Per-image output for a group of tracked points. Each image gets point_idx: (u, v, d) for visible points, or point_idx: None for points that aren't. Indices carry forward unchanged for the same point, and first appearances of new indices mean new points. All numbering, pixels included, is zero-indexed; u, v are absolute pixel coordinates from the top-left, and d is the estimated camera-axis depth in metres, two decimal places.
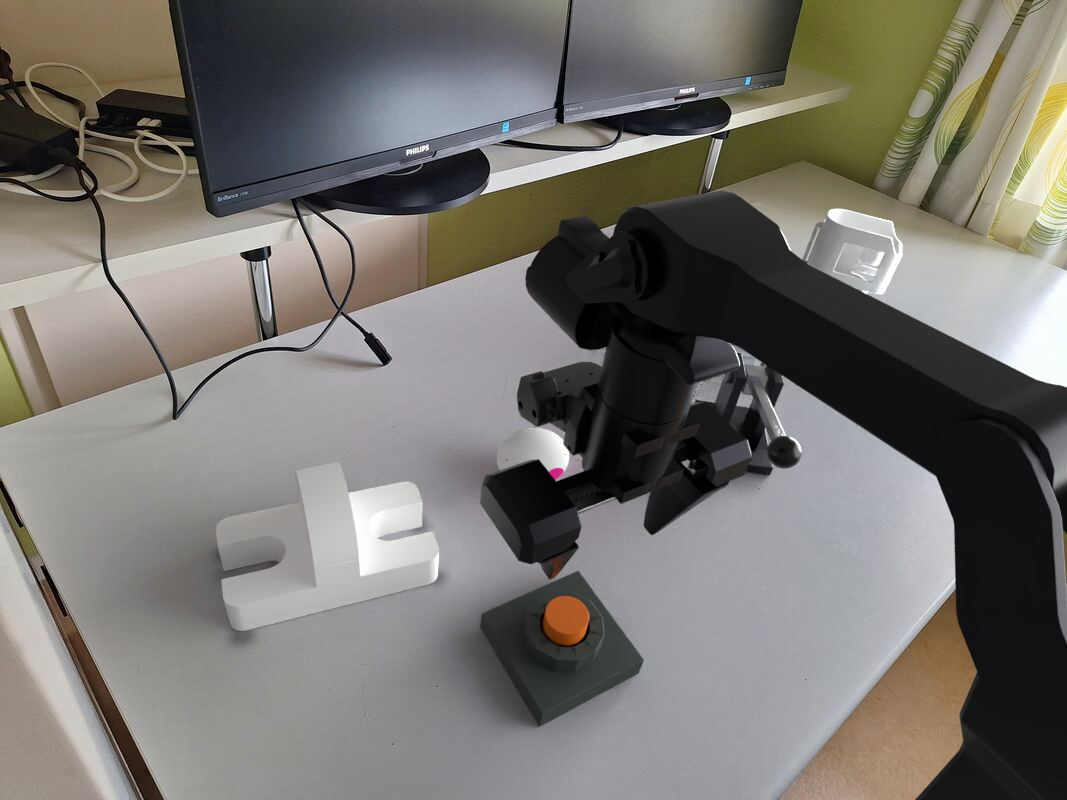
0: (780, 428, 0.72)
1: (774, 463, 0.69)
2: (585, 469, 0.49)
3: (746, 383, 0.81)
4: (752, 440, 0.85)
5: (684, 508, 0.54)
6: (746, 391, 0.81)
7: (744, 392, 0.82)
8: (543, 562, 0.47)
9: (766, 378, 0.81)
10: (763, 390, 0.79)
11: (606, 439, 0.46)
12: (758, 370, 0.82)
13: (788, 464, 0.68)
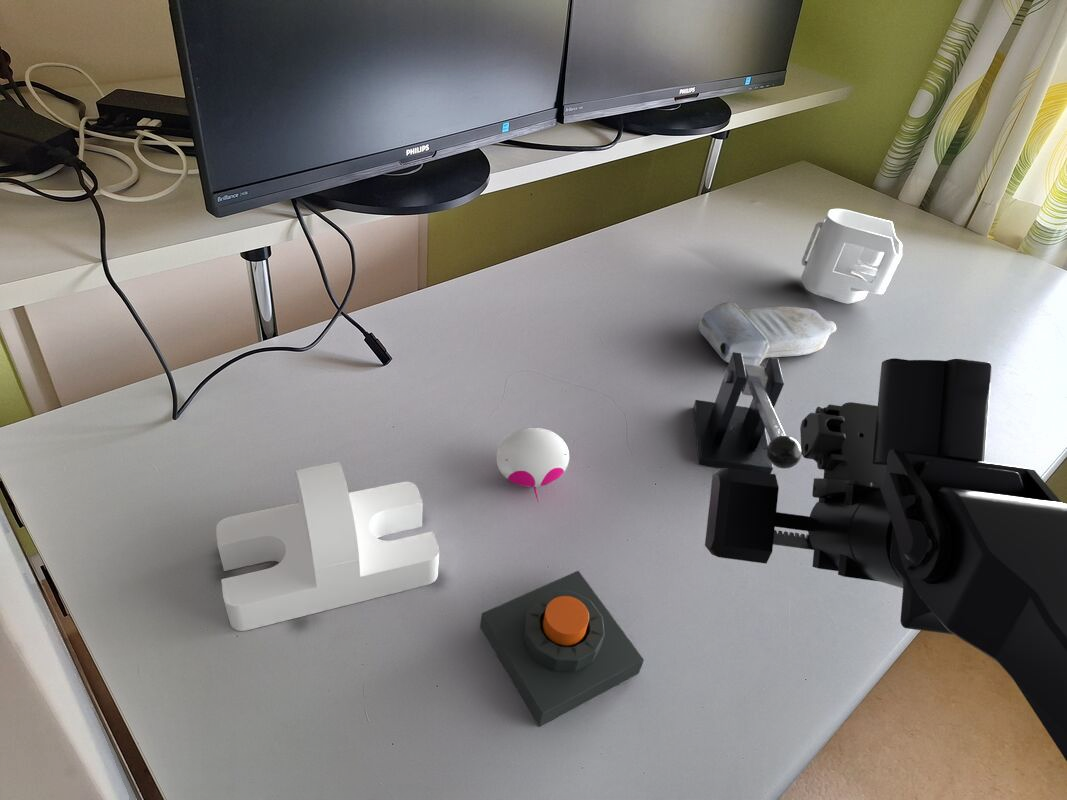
0: (780, 428, 0.72)
1: (774, 463, 0.69)
2: (811, 515, 0.52)
3: (746, 383, 0.81)
4: (752, 440, 0.85)
5: None
6: (746, 391, 0.81)
7: (744, 392, 0.82)
8: None
9: (766, 378, 0.81)
10: (763, 390, 0.79)
11: (833, 537, 0.48)
12: (758, 370, 0.82)
13: (788, 464, 0.68)
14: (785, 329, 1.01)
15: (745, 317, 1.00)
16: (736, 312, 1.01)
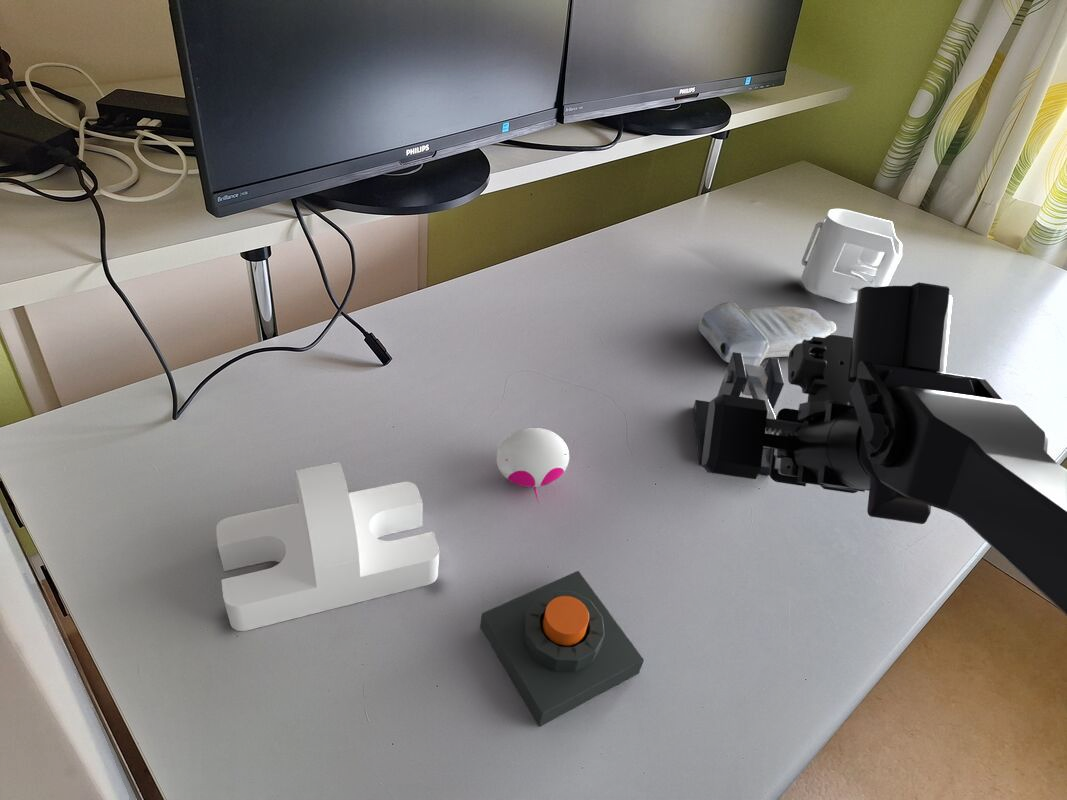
0: None
1: None
2: (796, 437, 0.58)
3: (746, 383, 0.81)
4: None
5: None
6: (746, 391, 0.82)
7: (744, 392, 0.82)
8: None
9: (766, 378, 0.81)
10: (763, 391, 0.79)
11: (814, 451, 0.55)
12: (758, 371, 0.82)
13: None
14: (785, 329, 1.01)
15: (745, 317, 1.00)
16: (736, 312, 1.01)
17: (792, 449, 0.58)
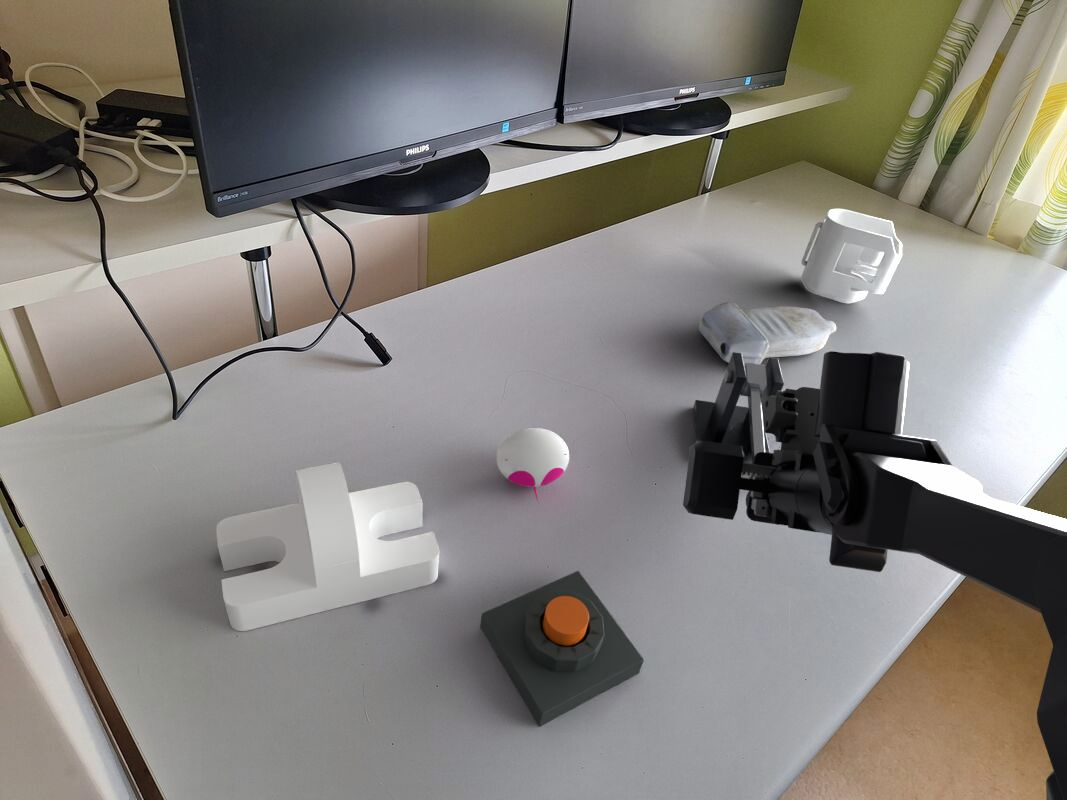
0: None
1: None
2: (771, 480, 0.63)
3: (744, 388, 0.81)
4: None
5: None
6: (744, 393, 0.82)
7: (742, 394, 0.82)
8: (749, 518, 0.66)
9: (765, 385, 0.81)
10: (759, 402, 0.80)
11: (785, 497, 0.59)
12: (758, 374, 0.81)
13: None
14: (785, 329, 1.01)
15: (745, 317, 1.00)
16: (736, 312, 1.01)
17: (766, 492, 0.63)
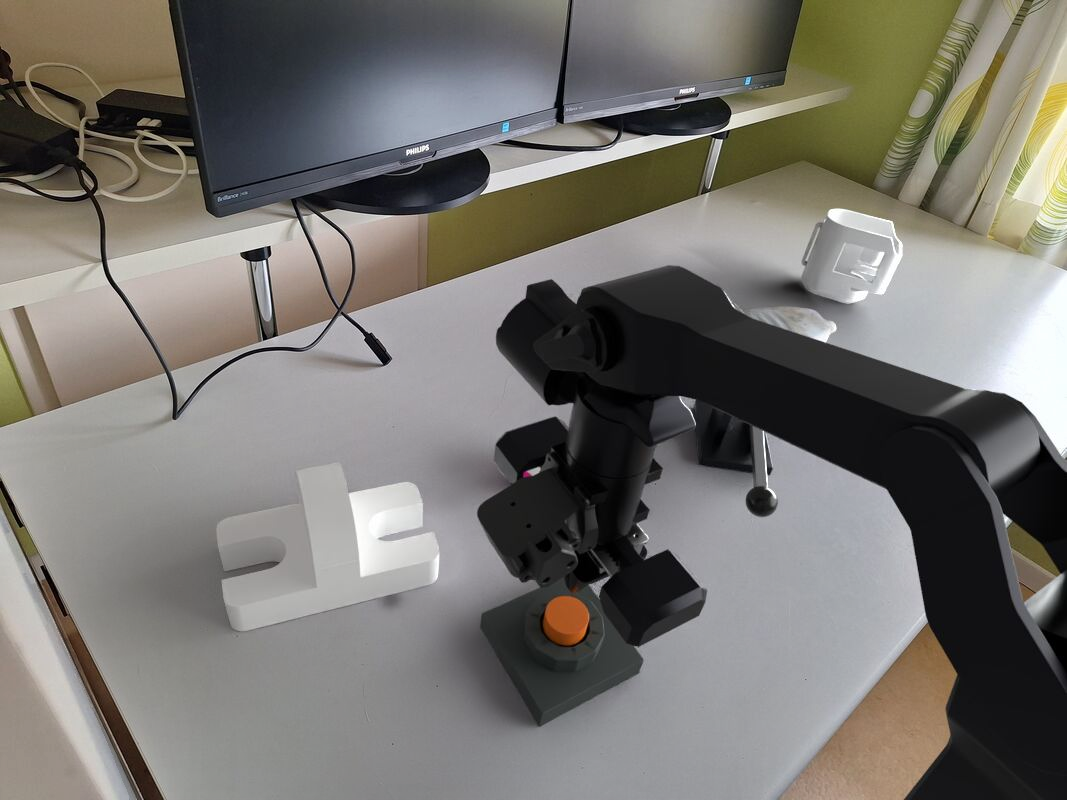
0: (764, 468, 0.75)
1: None
2: (610, 539, 0.51)
3: None
4: None
5: None
6: None
7: None
8: None
9: None
10: None
11: (635, 496, 0.49)
12: None
13: (762, 516, 0.73)
14: None
15: None
16: None
17: (623, 537, 0.52)
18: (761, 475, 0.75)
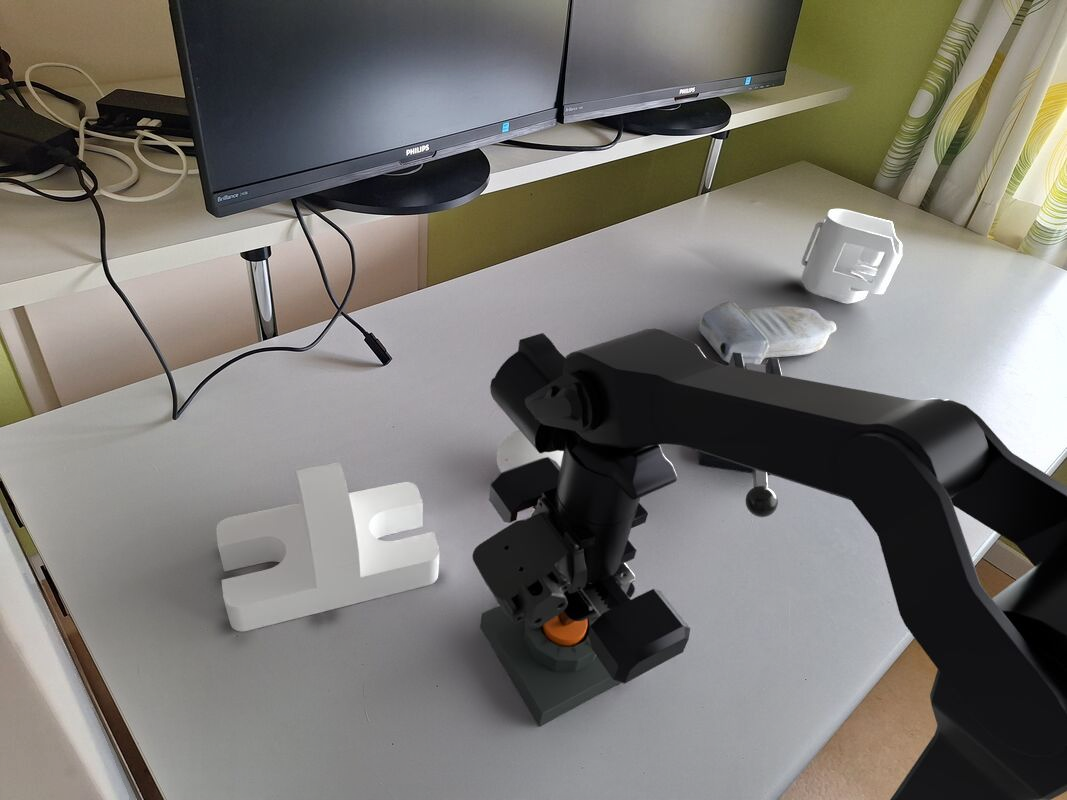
0: None
1: None
2: (599, 579, 0.54)
3: None
4: None
5: None
6: None
7: None
8: None
9: None
10: None
11: (622, 540, 0.52)
12: None
13: (762, 516, 0.73)
14: (785, 329, 1.01)
15: (745, 317, 1.00)
16: (736, 312, 1.01)
17: (611, 577, 0.54)
18: (761, 475, 0.75)
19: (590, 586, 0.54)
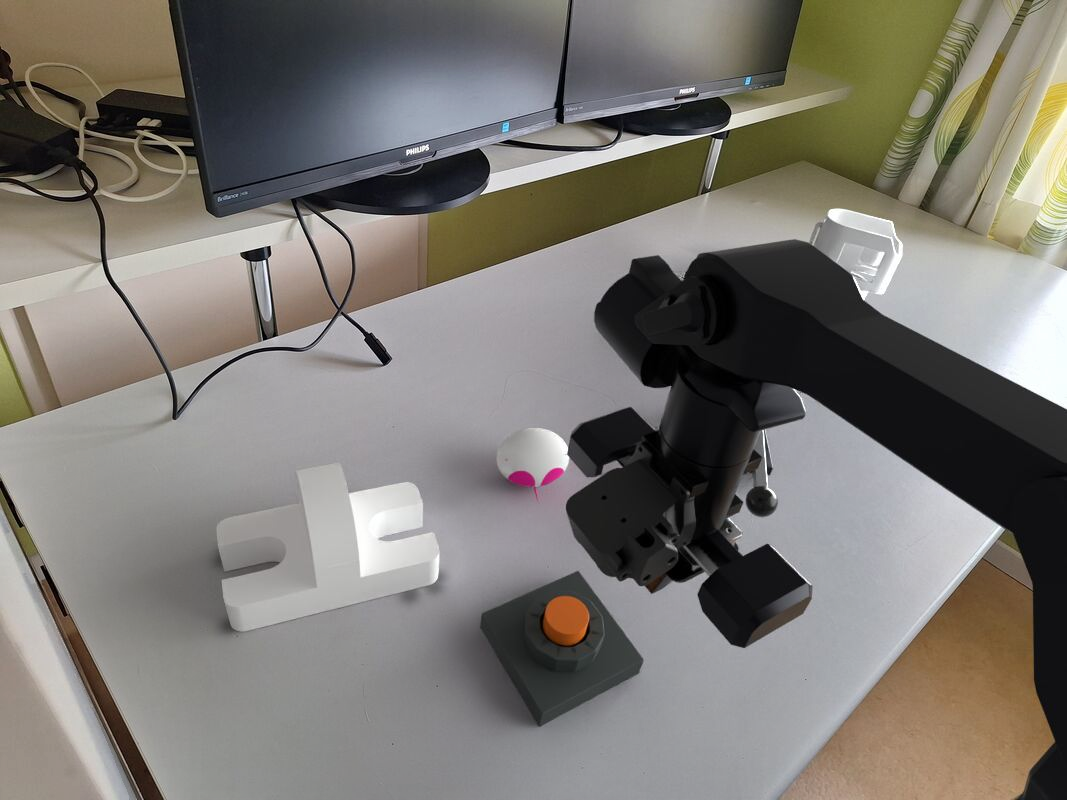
0: (764, 468, 0.75)
1: None
2: (704, 534, 0.48)
3: None
4: None
5: None
6: None
7: None
8: (737, 548, 0.51)
9: None
10: None
11: (734, 487, 0.46)
12: None
13: (762, 516, 0.73)
14: None
15: None
16: None
17: (718, 532, 0.48)
18: (761, 475, 0.75)
19: (694, 542, 0.48)
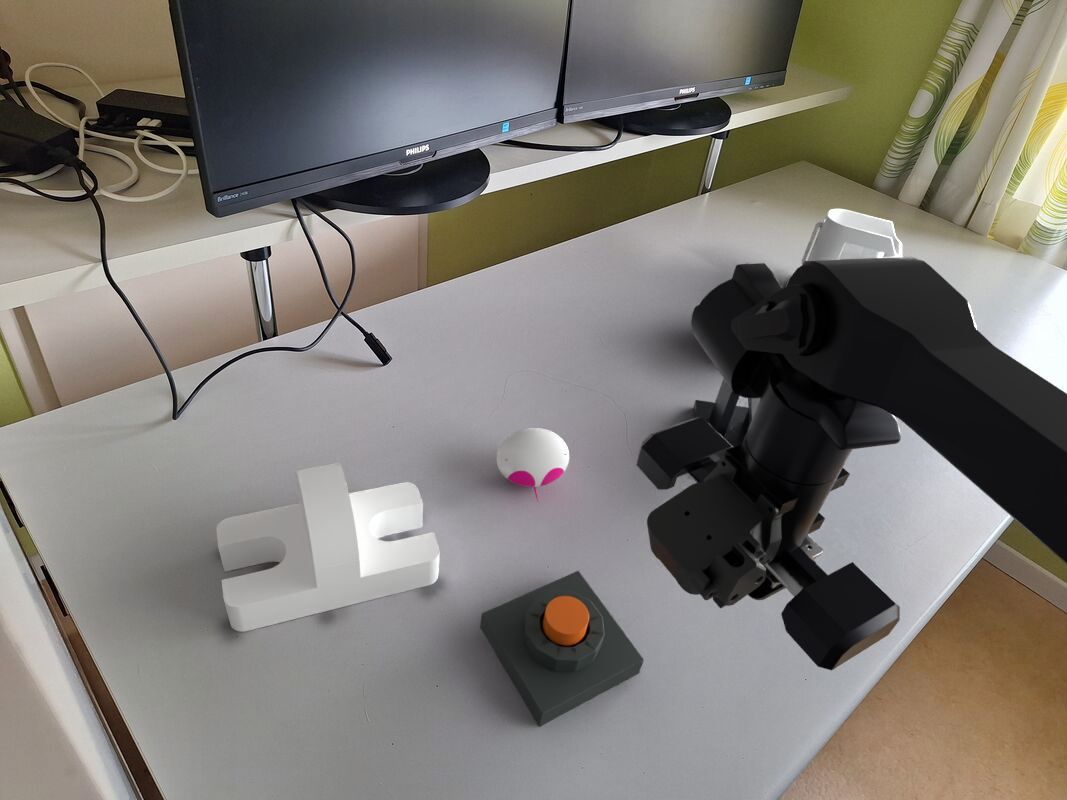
0: None
1: None
2: (786, 551, 0.47)
3: None
4: None
5: None
6: None
7: None
8: None
9: None
10: None
11: (821, 505, 0.45)
12: None
13: None
14: None
15: None
16: None
17: (799, 549, 0.47)
18: None
19: (775, 559, 0.47)
